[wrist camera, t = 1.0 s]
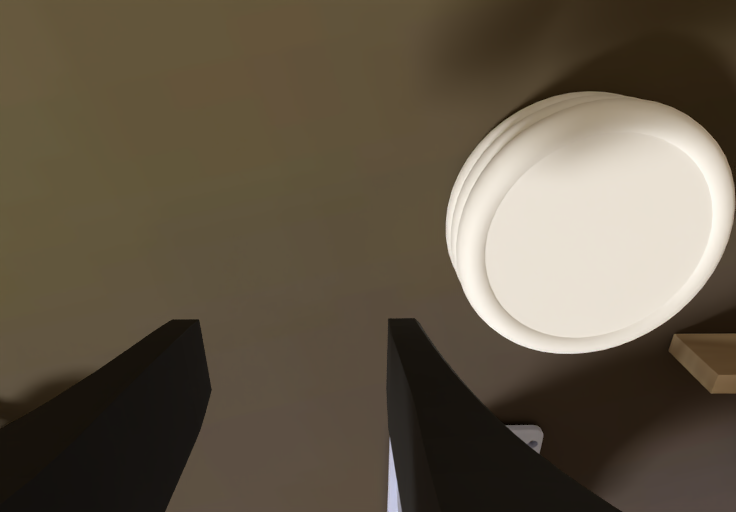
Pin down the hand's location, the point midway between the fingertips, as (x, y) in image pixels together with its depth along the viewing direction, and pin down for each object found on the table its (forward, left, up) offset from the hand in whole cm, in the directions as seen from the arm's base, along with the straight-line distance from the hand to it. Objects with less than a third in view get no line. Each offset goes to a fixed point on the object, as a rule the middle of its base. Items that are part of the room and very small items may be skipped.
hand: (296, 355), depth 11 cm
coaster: (0, -10, -10) cm, 14 cm away
